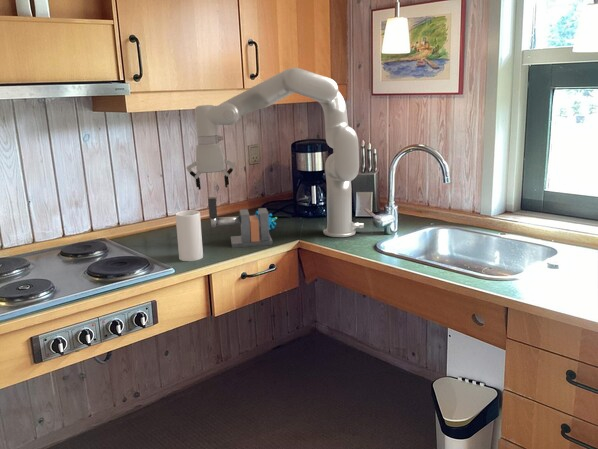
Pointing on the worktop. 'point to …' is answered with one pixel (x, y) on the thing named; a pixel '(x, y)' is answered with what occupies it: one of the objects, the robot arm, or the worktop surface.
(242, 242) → the bracket
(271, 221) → the blue spiky toy
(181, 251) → the cup
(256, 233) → the orange square block
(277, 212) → the worktop surface
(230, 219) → the shaft
